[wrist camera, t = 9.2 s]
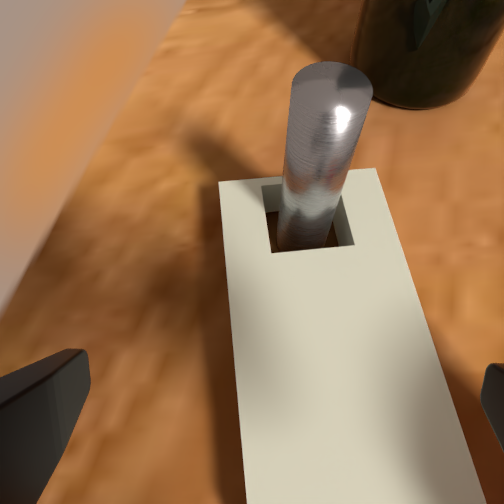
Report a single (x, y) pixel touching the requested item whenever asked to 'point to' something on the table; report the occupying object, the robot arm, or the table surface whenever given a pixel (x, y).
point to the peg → (319, 150)
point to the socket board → (337, 361)
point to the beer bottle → (425, 48)
